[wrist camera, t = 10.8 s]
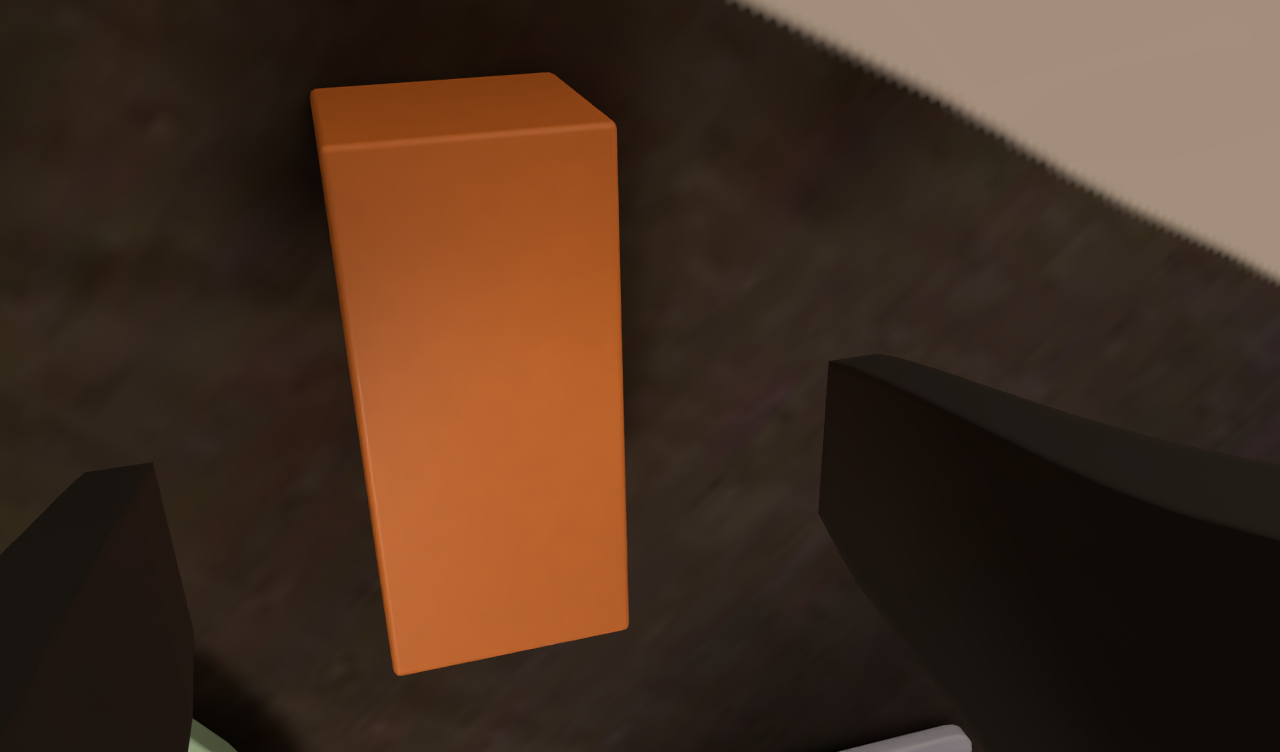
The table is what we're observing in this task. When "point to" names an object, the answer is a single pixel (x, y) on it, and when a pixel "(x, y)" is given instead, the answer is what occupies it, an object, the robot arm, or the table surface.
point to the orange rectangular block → (482, 356)
